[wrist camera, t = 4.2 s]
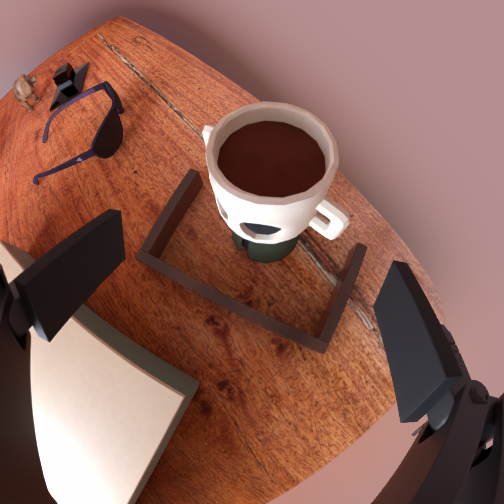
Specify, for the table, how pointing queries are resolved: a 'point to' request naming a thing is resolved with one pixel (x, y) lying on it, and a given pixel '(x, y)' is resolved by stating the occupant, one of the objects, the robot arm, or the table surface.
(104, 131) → the sunglasses
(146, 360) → the cream square platform
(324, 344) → the dark brown u-shaped bracket
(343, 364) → the table surface
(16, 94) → the lion figurine
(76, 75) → the build plate
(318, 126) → the character mug
